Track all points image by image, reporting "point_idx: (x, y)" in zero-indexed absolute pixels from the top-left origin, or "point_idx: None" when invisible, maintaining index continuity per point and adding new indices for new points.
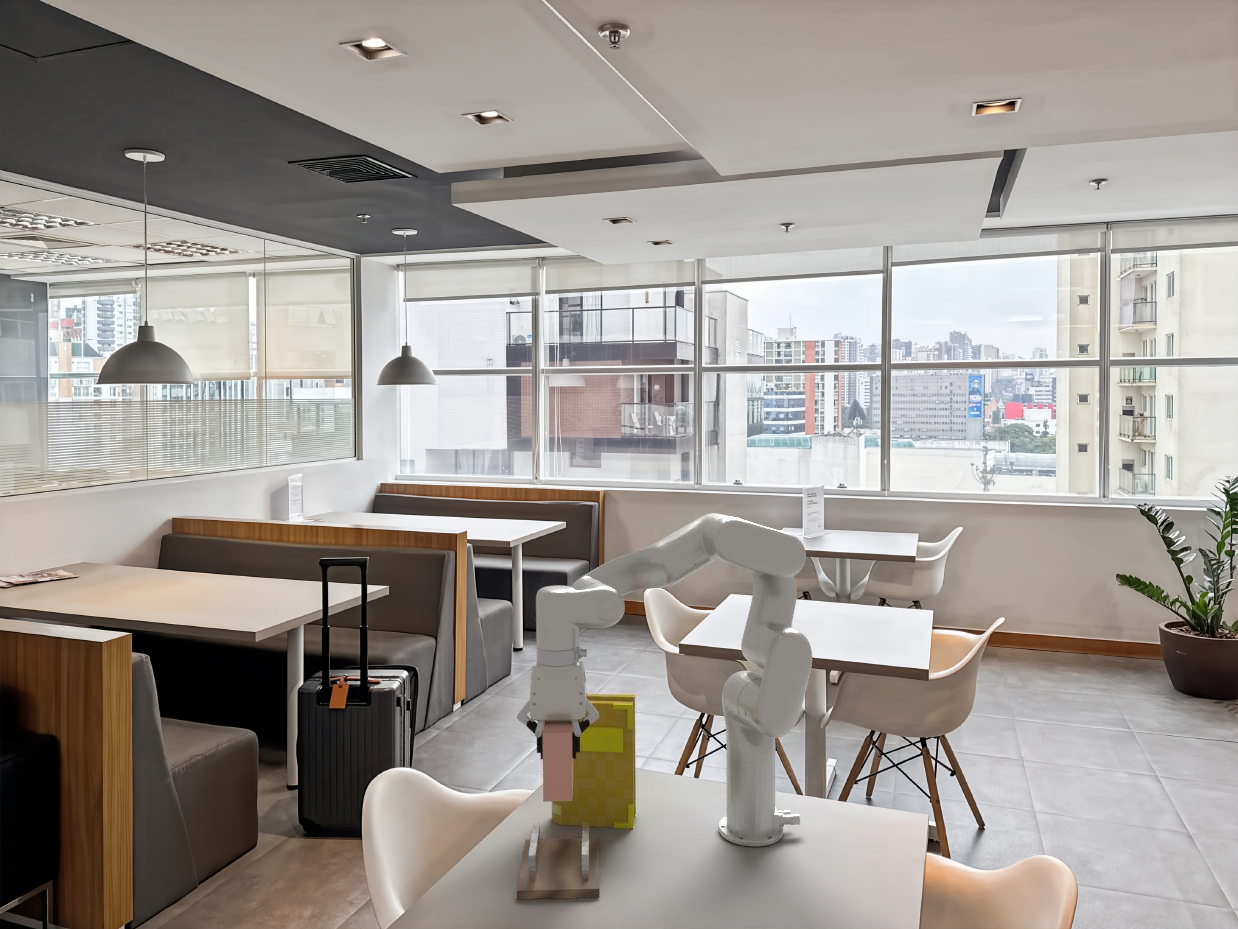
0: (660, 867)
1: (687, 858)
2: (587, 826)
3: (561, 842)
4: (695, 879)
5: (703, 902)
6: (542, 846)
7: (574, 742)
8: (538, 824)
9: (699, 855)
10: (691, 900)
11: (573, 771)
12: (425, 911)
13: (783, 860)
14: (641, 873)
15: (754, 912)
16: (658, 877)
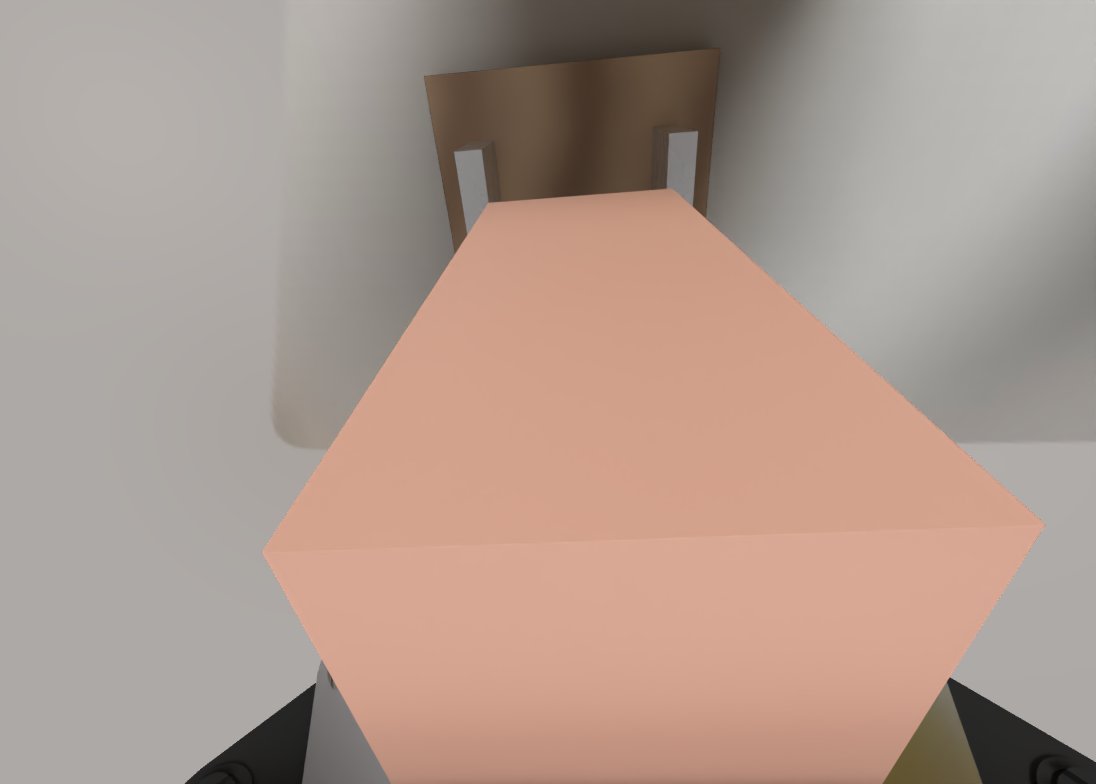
0: (898, 214)
1: (1018, 148)
2: (689, 175)
3: (570, 98)
4: (977, 282)
5: (944, 385)
6: (502, 136)
7: None
8: (478, 160)
9: (1074, 122)
10: (917, 378)
11: (677, 193)
12: (292, 425)
13: None
14: (825, 252)
15: (1047, 419)
16: (870, 274)
